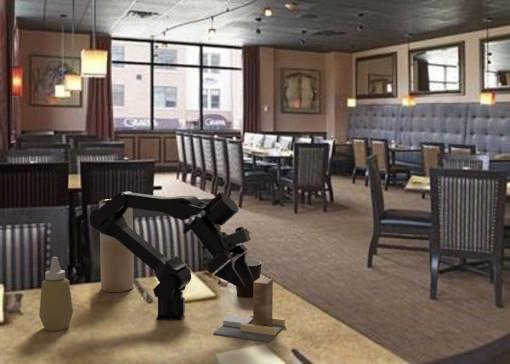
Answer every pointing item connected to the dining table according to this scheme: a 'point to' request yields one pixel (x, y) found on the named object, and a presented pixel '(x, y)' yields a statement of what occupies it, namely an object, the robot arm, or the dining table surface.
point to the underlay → (249, 328)
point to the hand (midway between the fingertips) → (248, 284)
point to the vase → (116, 260)
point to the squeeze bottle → (55, 299)
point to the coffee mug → (248, 289)
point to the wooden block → (263, 302)
